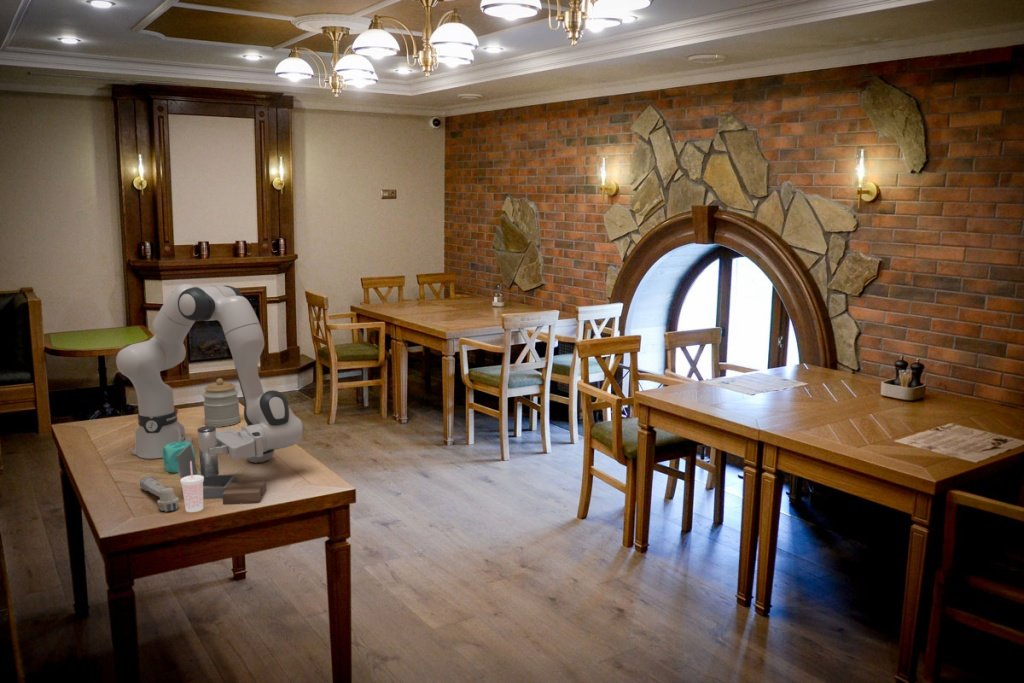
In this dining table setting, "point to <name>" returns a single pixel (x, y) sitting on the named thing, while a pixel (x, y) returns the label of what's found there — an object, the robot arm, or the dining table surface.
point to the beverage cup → (193, 491)
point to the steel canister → (206, 460)
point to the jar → (221, 404)
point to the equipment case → (209, 492)
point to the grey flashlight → (160, 493)
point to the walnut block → (244, 492)
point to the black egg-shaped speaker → (265, 457)
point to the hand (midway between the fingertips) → (205, 448)
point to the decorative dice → (174, 455)
